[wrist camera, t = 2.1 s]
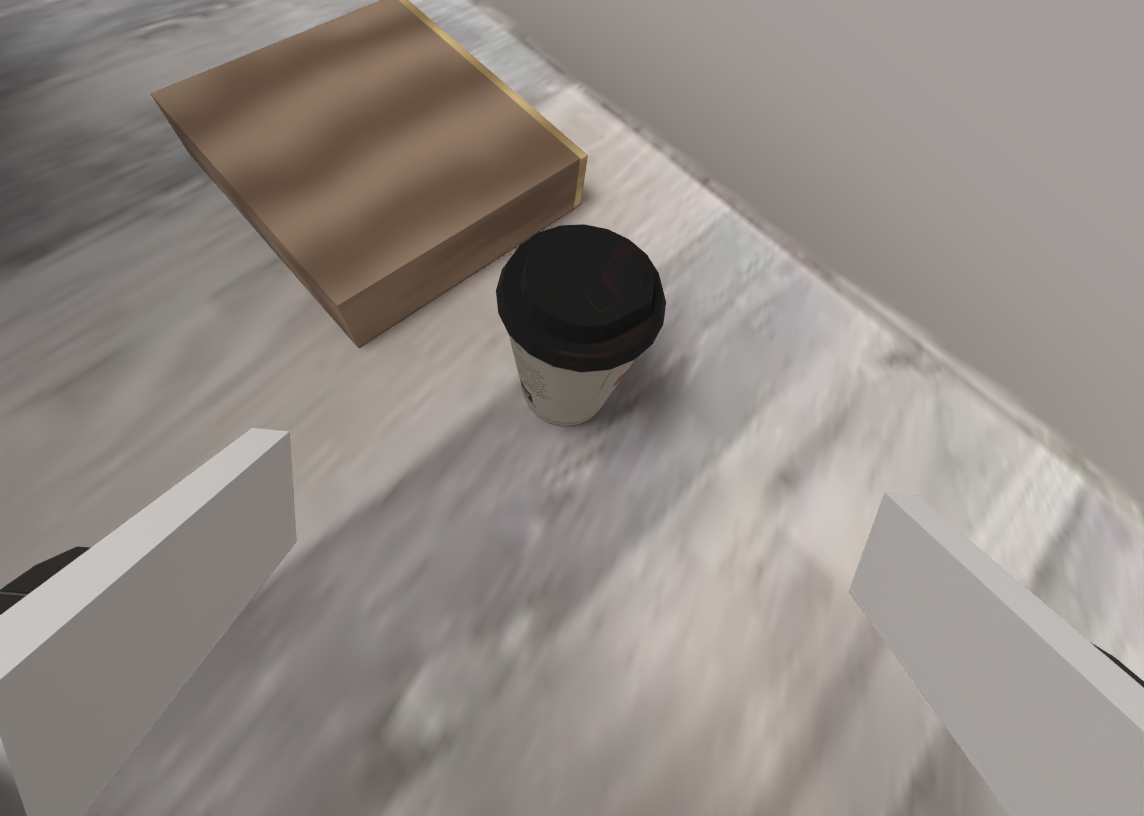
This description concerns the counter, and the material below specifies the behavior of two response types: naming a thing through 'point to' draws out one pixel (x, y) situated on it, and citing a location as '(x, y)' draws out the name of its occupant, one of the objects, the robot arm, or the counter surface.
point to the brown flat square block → (376, 159)
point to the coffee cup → (577, 317)
